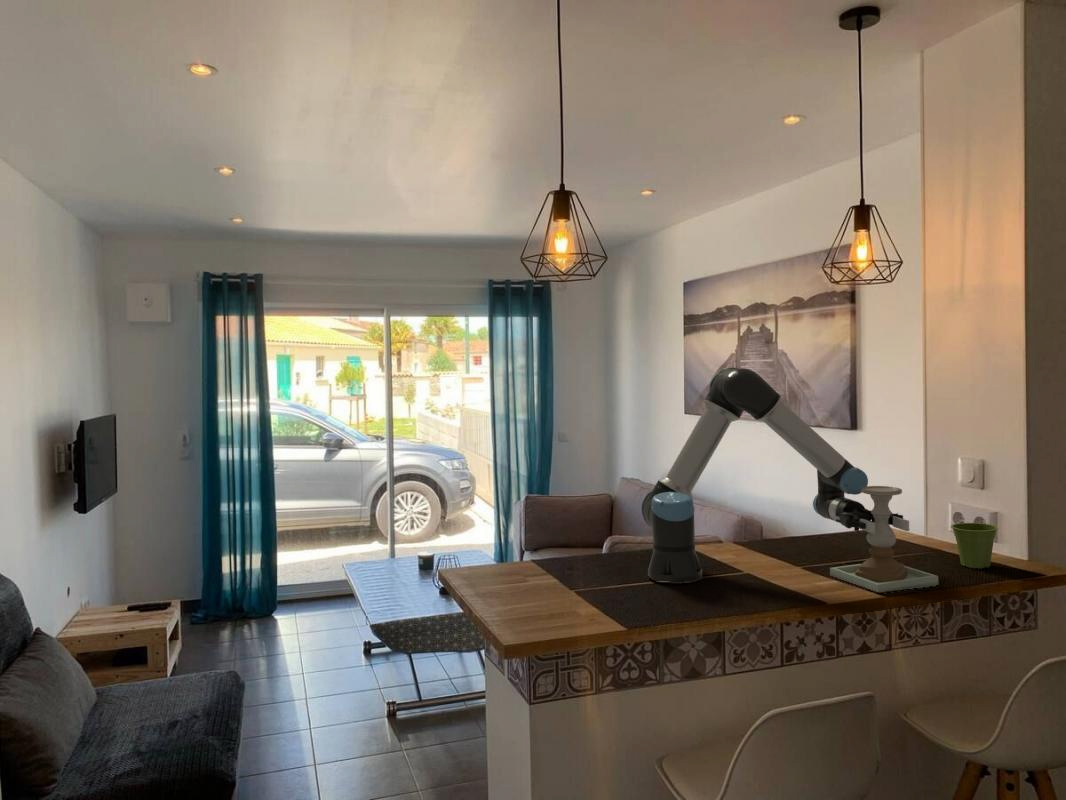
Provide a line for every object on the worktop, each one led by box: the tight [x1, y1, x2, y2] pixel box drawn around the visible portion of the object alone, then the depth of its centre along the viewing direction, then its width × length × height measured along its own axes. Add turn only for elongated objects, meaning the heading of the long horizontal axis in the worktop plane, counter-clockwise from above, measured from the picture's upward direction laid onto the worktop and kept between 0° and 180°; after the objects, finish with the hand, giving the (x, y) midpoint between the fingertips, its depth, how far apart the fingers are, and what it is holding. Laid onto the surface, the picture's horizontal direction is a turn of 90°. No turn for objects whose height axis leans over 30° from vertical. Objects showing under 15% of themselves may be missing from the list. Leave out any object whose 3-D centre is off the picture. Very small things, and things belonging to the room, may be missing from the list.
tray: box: [829, 563, 939, 592], centre depth 223 cm, size 19×19×2 cm
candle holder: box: [855, 485, 908, 583], centre depth 222 cm, size 11×11×24 cm
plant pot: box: [950, 522, 999, 570], centre depth 234 cm, size 12×12×11 cm
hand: (890, 527), depth 218 cm, fingers open, 9 cm apart
